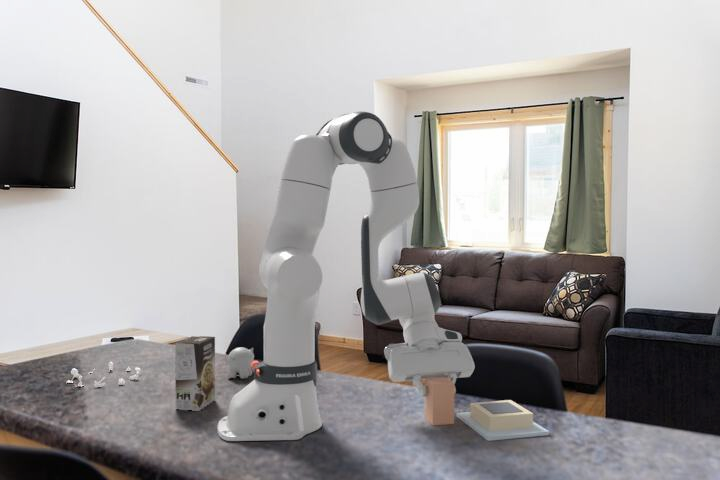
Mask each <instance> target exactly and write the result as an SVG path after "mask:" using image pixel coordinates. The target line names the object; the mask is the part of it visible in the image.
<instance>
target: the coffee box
mask: <svg viewBox="0 0 720 480" xmlns="http://www.w3.org/2000/svg"><path fill="white" fill-rule="evenodd" d="M174 345H175V359H174V360H175V361H174V363H175V374H174V375H175V376H174V377H175V410H176V409H179V410H178V411H188V410H192V412H200V411H202V410H203V409H205V408H206V407H207V405H208V406H209V405H211V404H212V403H214V402H216V336H205V335H204V336H201V335H200V336H197V335H196V336H193V335H191V336H190V337H187V338H184V339H182V340H180V341H176V342H175V344H174ZM213 401H214V402H213ZM210 403H211V404H210ZM204 407H205V408H204ZM201 409H202V410H201Z"/></svg>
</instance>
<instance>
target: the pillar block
mask: <svg viewBox="0 0 720 480" xmlns="http://www.w3.org/2000/svg"><path fill="white" fill-rule="evenodd" d="M454 385H455V384H454V383H453V382H452V381H450V380H449V379H448V378H433V379H425V380H424V386H428V390H429V395H428V396H425V397H424V401H425V402H424V419H425V420H426V421H427V422H428V423H429V424H430V425H432V426H442V425H443V426H445V425H454V424H455V394H454Z"/></svg>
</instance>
